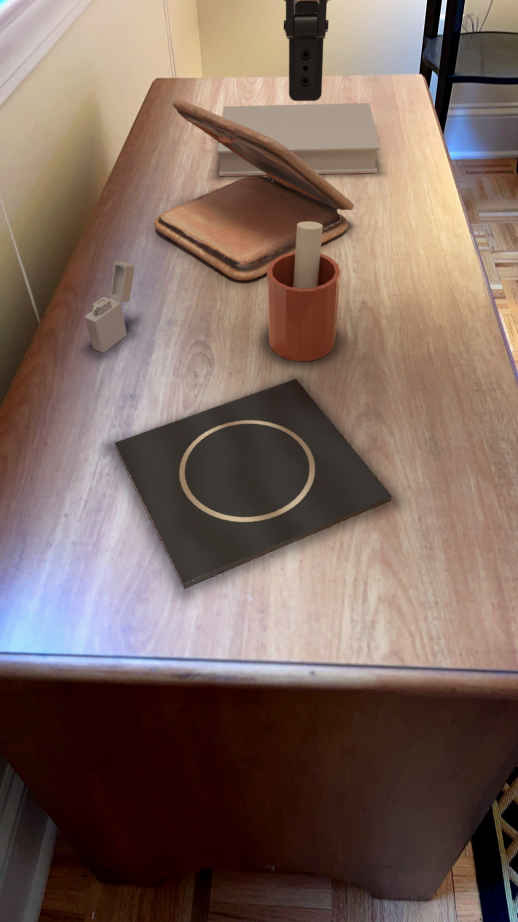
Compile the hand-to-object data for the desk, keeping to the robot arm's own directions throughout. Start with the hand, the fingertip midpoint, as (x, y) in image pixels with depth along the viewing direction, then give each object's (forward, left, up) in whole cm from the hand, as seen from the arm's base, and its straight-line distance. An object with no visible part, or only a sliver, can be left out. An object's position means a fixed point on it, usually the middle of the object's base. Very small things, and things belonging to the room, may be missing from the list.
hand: (306, 76), depth 50 cm
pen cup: (-4, -7, -30) cm, 31 cm away
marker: (-4, -7, -29) cm, 30 cm away
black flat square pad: (+10, +8, -30) cm, 33 cm away
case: (-10, -32, -30) cm, 45 cm away
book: (-27, -51, -30) cm, 65 cm away
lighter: (+14, -18, -30) cm, 38 cm away
